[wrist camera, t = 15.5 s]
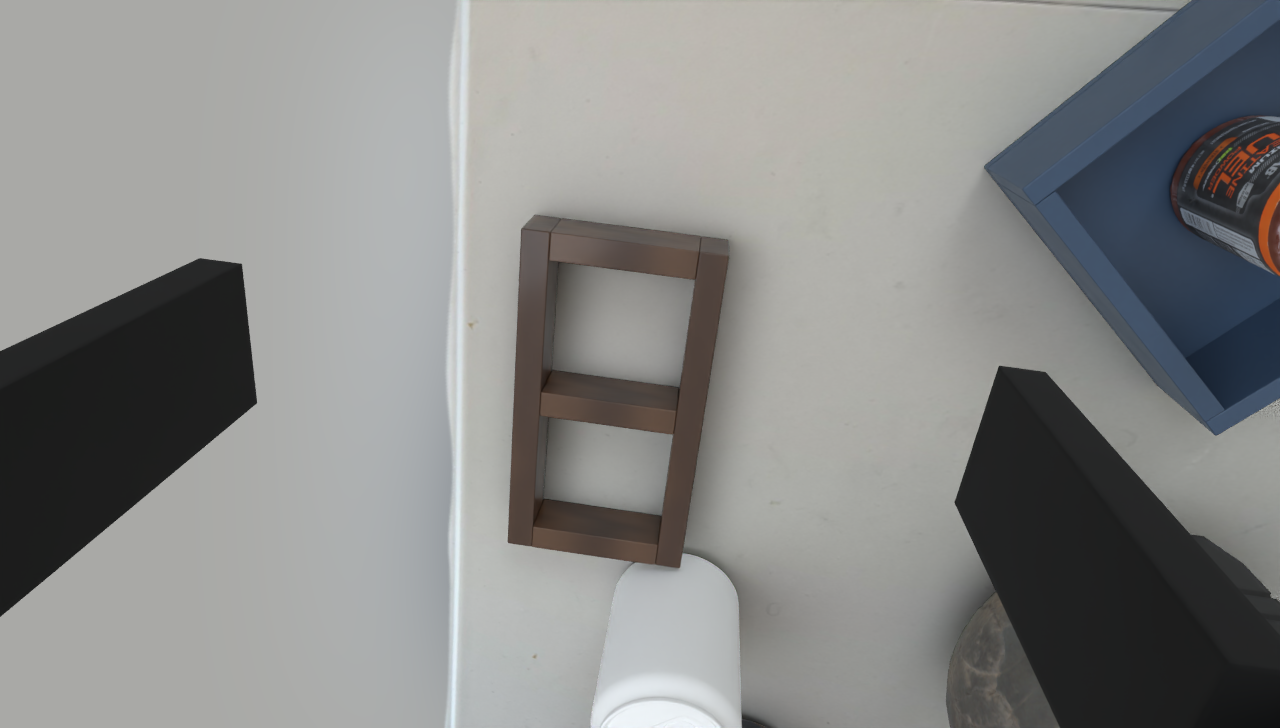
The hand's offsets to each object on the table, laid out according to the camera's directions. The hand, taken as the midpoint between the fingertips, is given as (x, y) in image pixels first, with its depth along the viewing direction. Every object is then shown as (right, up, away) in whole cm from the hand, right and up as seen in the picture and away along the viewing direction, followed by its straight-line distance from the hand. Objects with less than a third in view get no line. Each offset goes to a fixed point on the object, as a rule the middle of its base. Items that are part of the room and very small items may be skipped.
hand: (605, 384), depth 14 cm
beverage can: (+3, -15, +38) cm, 41 cm away
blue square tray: (+29, +9, +24) cm, 39 cm away
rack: (-1, -1, +32) cm, 32 cm away
